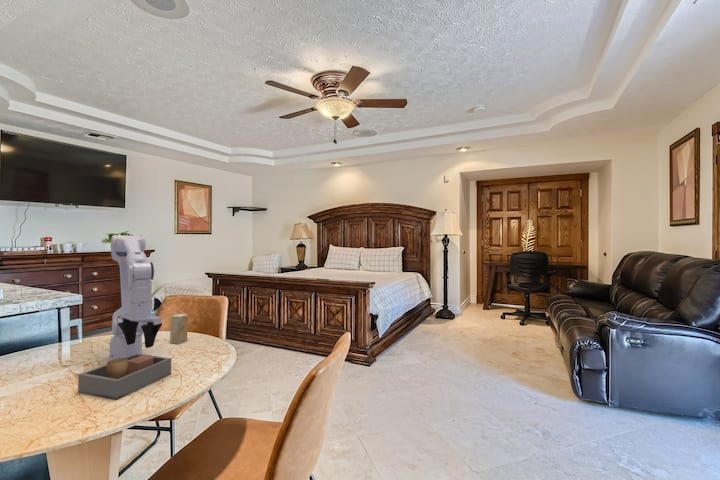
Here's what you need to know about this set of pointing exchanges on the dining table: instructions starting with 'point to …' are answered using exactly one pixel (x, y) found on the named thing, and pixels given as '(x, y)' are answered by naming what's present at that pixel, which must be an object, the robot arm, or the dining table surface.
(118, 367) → the walnut cylinder
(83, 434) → the dining table surface
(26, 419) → the dining table surface
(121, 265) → the robot arm
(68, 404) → the dining table surface
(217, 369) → the dining table surface
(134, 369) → the cube
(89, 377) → the tote
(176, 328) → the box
